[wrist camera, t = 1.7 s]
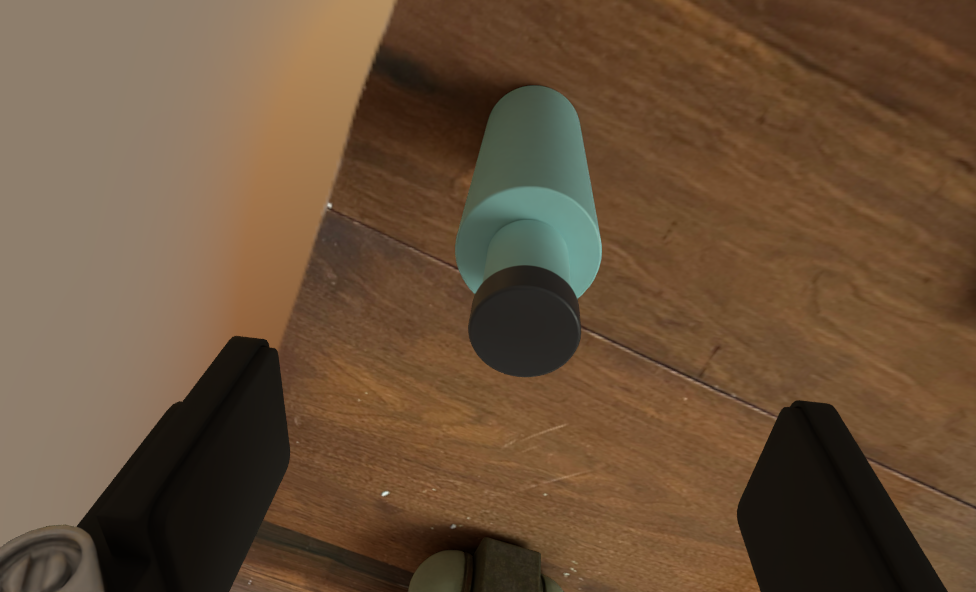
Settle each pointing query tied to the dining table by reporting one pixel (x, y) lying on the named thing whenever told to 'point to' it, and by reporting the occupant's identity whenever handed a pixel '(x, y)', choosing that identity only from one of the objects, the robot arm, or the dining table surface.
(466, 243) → the bottle
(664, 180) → the dining table surface
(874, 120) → the dining table surface
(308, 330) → the dining table surface
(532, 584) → the post
